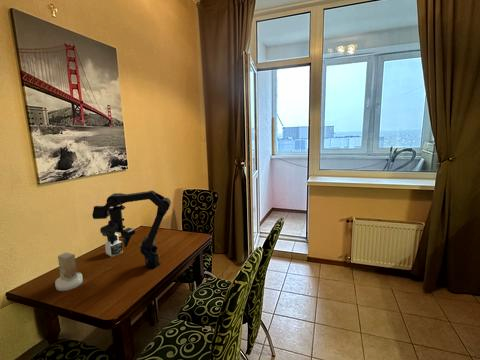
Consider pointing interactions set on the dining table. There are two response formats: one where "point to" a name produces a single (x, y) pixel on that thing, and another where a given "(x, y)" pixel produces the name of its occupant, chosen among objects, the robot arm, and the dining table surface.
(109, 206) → the robot arm
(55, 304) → the dining table surface
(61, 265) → the skincare box
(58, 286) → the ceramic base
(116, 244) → the medicine bottle
